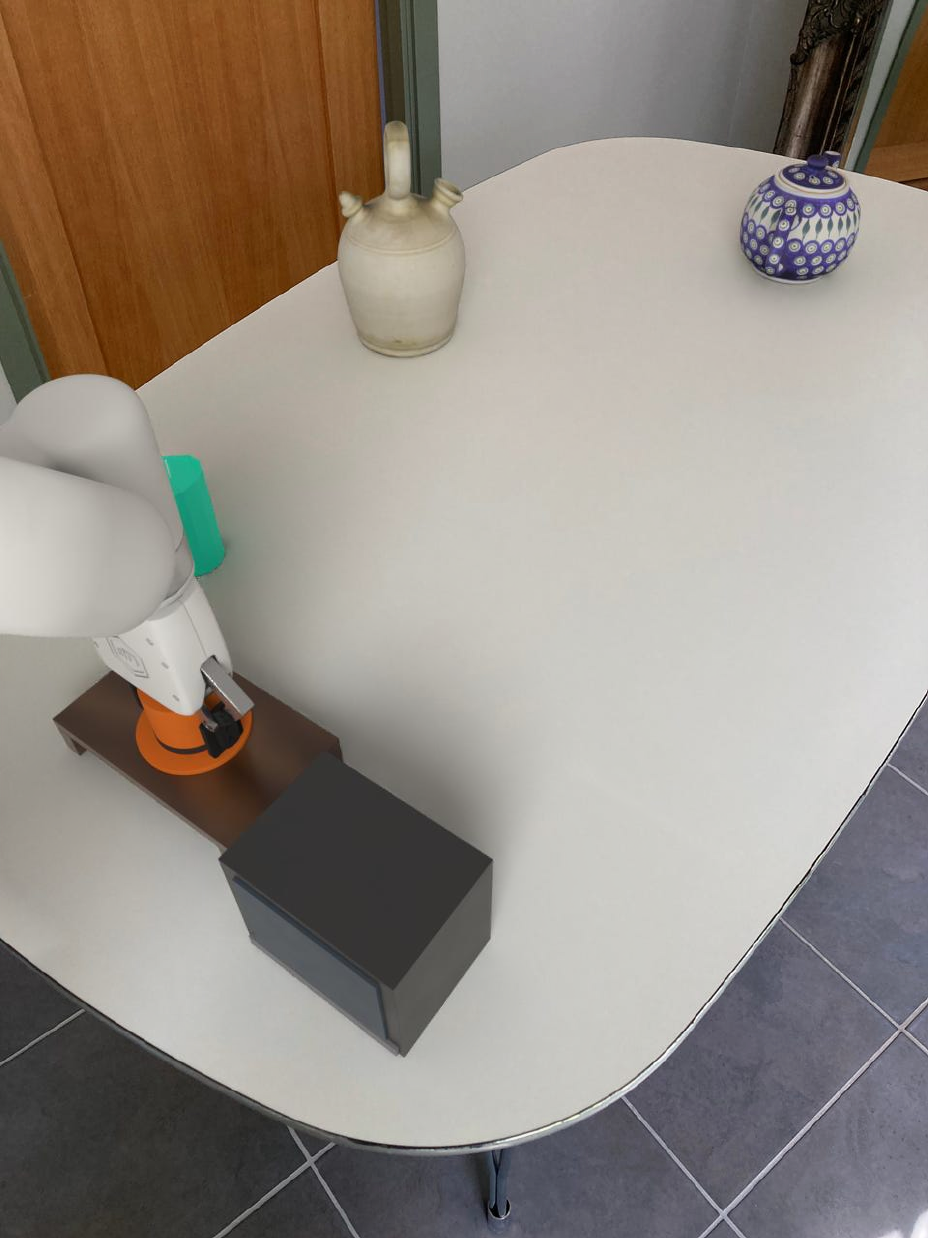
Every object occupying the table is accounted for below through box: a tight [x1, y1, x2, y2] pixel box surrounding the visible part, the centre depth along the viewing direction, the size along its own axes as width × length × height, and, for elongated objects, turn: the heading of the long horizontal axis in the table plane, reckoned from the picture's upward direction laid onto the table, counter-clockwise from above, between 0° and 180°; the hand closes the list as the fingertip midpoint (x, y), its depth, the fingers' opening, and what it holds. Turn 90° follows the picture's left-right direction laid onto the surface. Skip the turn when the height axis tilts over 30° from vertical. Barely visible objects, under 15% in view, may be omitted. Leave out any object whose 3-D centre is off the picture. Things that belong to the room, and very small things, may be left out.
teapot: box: [739, 150, 862, 285], centre depth 126 cm, size 25×15×15 cm, turn 148°
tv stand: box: [52, 669, 345, 856], centre depth 77 cm, size 12×20×4 cm, turn 54°
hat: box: [136, 688, 252, 775], centre depth 74 cm, size 9×9×6 cm
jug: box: [337, 120, 467, 358], centre depth 112 cm, size 15×16×25 cm
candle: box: [161, 454, 226, 578], centre depth 90 cm, size 6×6×12 cm
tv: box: [217, 750, 494, 1058], centre depth 64 cm, size 10×14×12 cm
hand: (191, 719), depth 75 cm, fingers open, 7 cm apart
